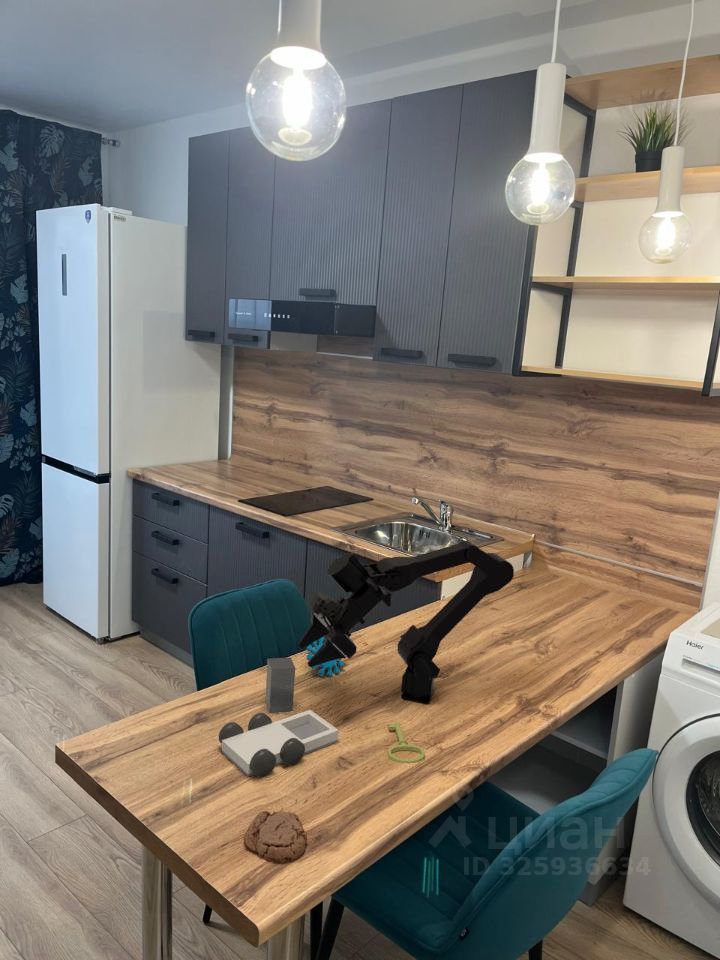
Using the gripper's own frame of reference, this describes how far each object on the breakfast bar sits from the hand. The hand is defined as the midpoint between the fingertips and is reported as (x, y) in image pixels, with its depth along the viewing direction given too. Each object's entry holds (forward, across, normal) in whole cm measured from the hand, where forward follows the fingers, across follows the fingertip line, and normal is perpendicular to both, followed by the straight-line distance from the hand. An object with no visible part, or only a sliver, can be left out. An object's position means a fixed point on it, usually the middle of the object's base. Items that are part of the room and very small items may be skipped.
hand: (304, 655), depth 155 cm
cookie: (+17, +41, 0) cm, 45 cm away
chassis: (+13, +15, +3) cm, 20 cm away
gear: (+2, -15, +15) cm, 21 cm away
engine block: (+11, 0, +5) cm, 12 cm away
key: (-3, +19, +20) cm, 28 cm away
